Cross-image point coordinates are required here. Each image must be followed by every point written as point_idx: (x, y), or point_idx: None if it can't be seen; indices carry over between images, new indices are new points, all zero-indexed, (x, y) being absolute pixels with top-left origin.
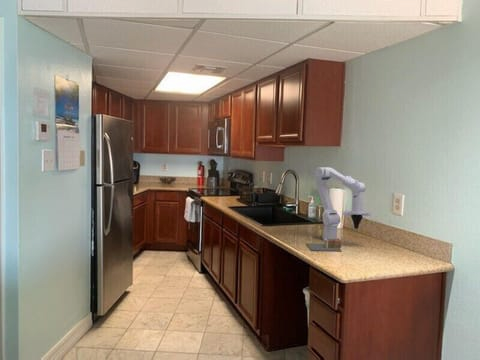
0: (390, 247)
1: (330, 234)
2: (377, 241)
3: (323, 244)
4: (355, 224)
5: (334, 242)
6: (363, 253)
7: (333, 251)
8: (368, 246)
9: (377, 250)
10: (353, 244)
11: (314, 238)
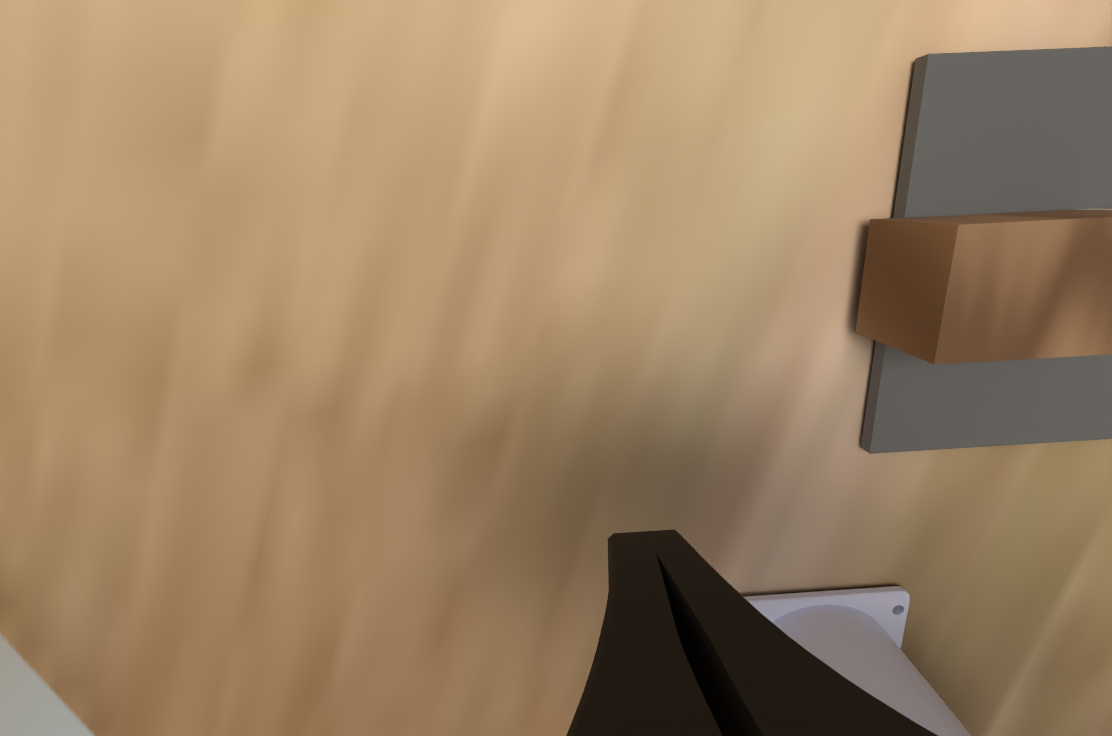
0: (56, 438)
1: (904, 679)
2: (197, 702)
3: (1042, 395)
4: (742, 596)
5: (1054, 218)
6: (573, 10)
7: (1042, 53)
8: (379, 448)
9: (291, 238)
10: (567, 520)
11: (967, 712)
